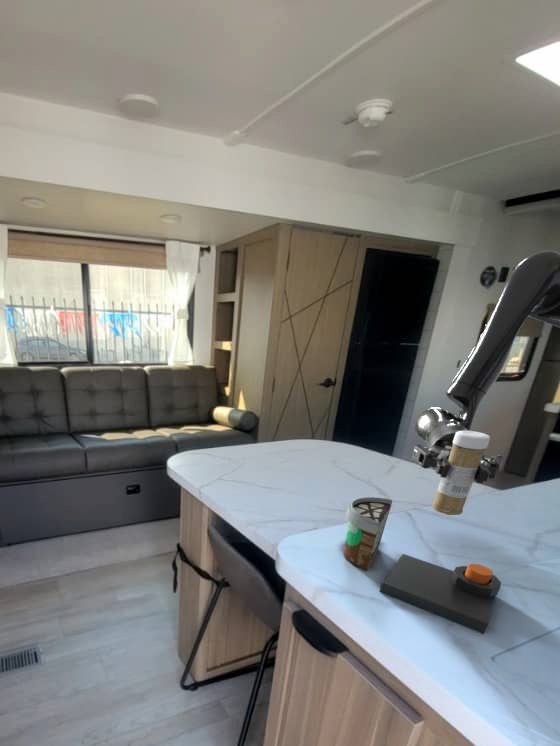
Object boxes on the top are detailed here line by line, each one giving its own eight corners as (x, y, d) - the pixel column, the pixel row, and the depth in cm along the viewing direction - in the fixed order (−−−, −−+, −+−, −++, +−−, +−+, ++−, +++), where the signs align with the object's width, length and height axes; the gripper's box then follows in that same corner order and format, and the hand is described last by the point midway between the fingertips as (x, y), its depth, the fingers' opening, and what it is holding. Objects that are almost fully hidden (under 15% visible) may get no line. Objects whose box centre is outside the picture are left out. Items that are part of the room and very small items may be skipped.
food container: (346, 536, 81) (357, 490, 77) (379, 546, 78) (393, 499, 74) (328, 563, 72) (339, 512, 68) (364, 575, 69) (379, 523, 64)
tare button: (489, 578, 64) (494, 569, 63) (487, 587, 61) (491, 577, 61) (466, 570, 65) (469, 561, 65) (462, 578, 63) (466, 569, 62)
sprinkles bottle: (460, 508, 70) (489, 432, 64) (462, 518, 67) (493, 439, 61) (430, 502, 72) (455, 428, 66) (430, 512, 68) (457, 434, 62)
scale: (494, 594, 65) (503, 576, 64) (484, 634, 56) (493, 615, 55) (400, 561, 73) (406, 544, 72) (379, 592, 65) (384, 574, 63)
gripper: (414, 422, 79) (419, 444, 65) (503, 432, 73) (529, 459, 59) (404, 459, 82) (406, 488, 68) (488, 471, 77) (509, 505, 63)
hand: (463, 474), depth 64 cm, fingers closed on sprinkles bottle, 4 cm apart
